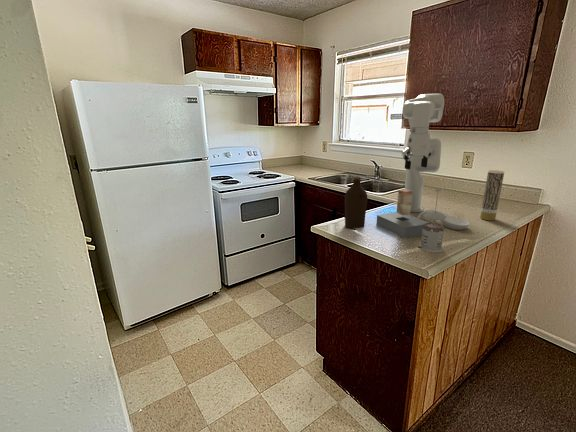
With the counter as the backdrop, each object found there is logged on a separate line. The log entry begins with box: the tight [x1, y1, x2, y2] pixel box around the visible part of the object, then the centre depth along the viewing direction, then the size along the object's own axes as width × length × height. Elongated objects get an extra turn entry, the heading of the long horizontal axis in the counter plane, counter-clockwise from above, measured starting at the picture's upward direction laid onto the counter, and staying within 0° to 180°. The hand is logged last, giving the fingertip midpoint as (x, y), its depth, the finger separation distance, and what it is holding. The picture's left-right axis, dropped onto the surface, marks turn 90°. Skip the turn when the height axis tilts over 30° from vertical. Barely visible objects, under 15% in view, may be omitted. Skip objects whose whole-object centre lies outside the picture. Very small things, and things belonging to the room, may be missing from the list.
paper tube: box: [480, 169, 505, 221], centre depth 159 cm, size 7×7×25 cm
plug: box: [396, 188, 412, 215], centre depth 143 cm, size 4×4×11 cm
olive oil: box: [344, 175, 368, 231], centre depth 150 cm, size 11×11×25 cm
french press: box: [418, 187, 446, 253], centre depth 125 cm, size 10×12×25 cm
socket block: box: [376, 211, 430, 239], centre depth 146 cm, size 20×14×6 cm
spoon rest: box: [416, 209, 471, 231], centre depth 152 cm, size 24×12×7 cm, turn 55°
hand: (415, 167), depth 148 cm, fingers open, 9 cm apart
